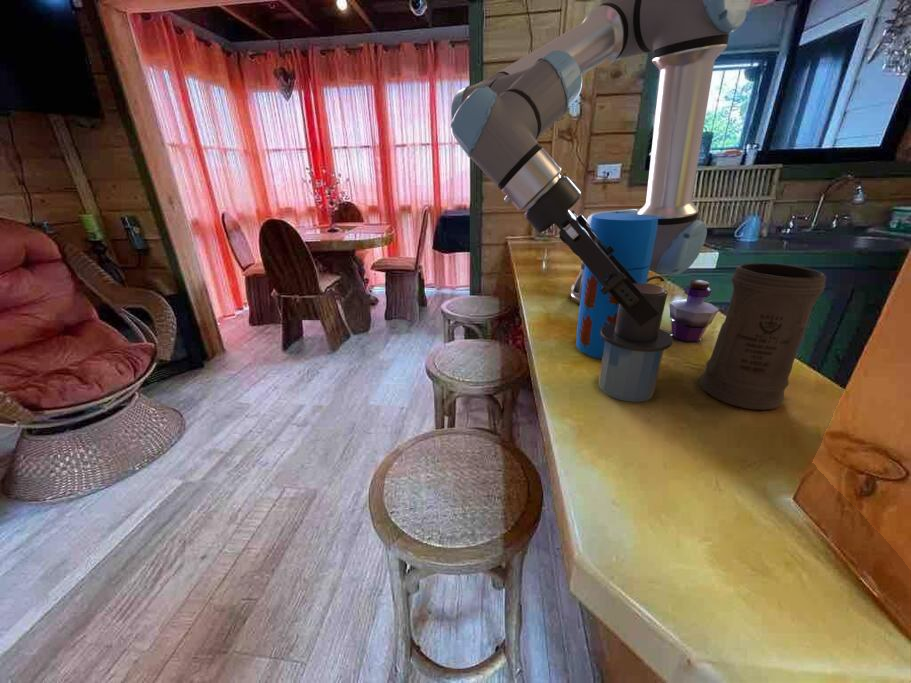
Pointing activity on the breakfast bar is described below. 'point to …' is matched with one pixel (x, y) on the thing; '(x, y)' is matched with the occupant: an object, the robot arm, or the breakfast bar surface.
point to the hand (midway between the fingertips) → (639, 303)
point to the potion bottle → (692, 313)
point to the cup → (629, 373)
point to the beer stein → (761, 334)
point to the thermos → (596, 310)
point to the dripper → (640, 337)
